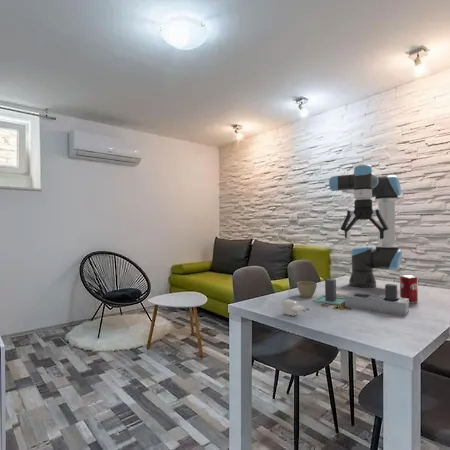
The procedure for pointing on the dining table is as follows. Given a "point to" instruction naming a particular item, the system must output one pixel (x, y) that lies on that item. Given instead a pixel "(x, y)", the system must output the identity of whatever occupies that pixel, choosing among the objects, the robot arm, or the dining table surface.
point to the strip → (379, 301)
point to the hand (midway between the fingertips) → (363, 245)
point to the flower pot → (306, 288)
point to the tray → (338, 301)
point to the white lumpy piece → (292, 307)
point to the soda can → (409, 288)
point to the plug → (330, 289)
